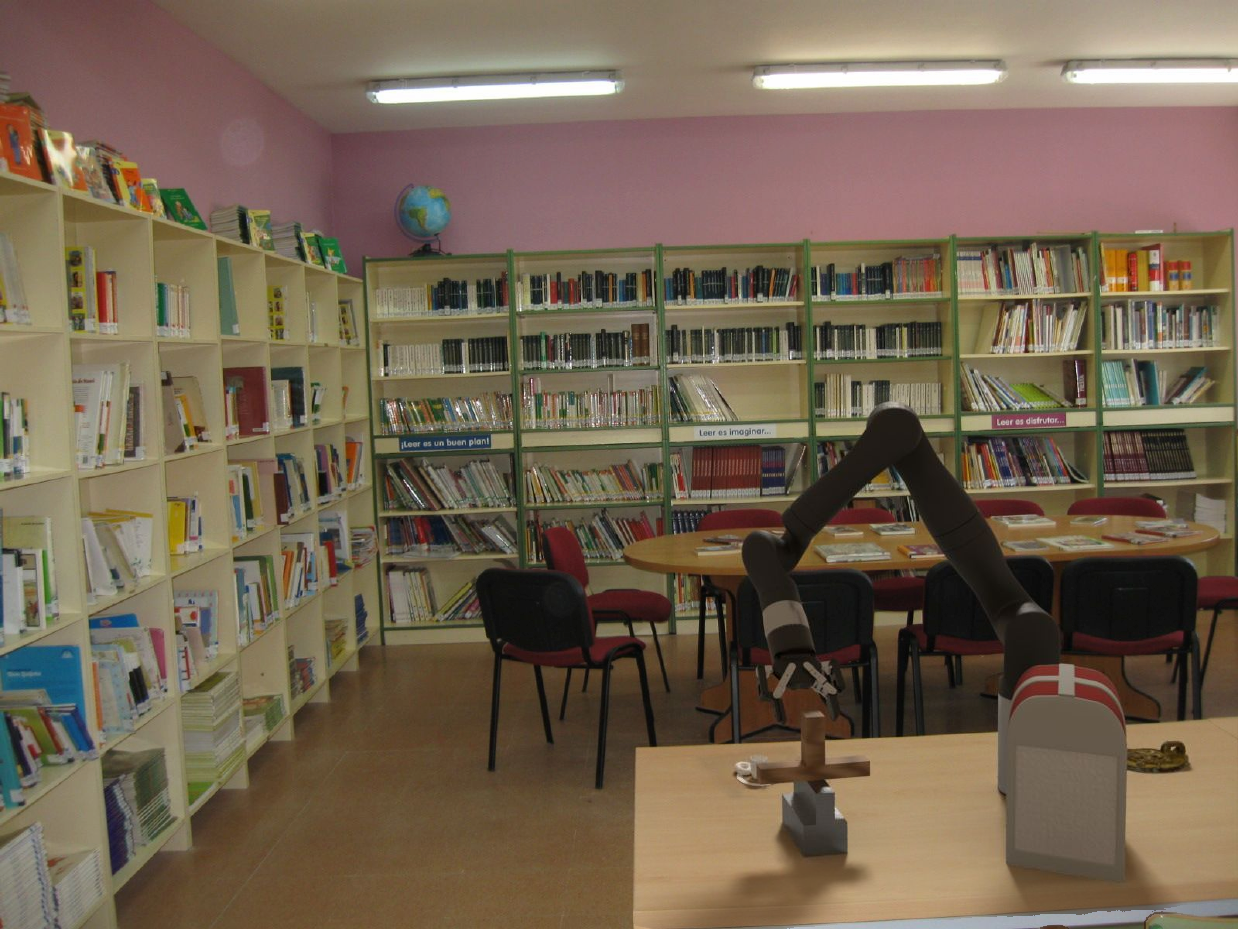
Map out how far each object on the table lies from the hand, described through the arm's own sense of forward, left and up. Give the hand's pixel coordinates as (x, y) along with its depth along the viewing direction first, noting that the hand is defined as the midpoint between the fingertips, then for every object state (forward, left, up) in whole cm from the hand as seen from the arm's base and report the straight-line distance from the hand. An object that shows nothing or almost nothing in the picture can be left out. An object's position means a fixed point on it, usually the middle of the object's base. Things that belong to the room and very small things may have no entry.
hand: (809, 721), depth 161 cm
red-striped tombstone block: (-38, -8, -19) cm, 43 cm away
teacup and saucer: (+14, -21, -19) cm, 32 cm away
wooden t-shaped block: (-1, +2, -9) cm, 9 cm away
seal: (-53, -49, -19) cm, 74 cm away
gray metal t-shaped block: (-1, +2, -19) cm, 19 cm away
